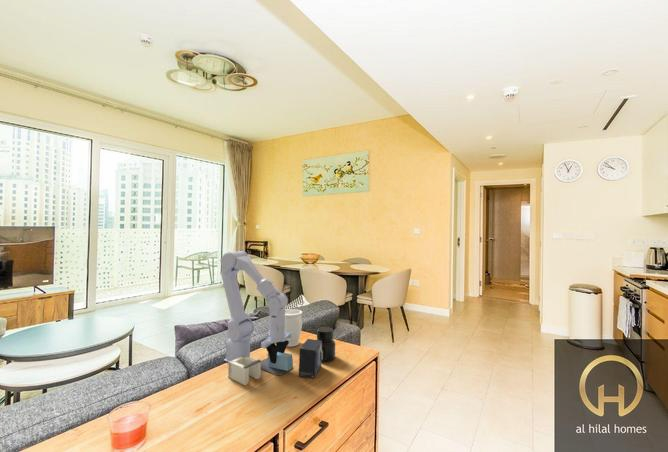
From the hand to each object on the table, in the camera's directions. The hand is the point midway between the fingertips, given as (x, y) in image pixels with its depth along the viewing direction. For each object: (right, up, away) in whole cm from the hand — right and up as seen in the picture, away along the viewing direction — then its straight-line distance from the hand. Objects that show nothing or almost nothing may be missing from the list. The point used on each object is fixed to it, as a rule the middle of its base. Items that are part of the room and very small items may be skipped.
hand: (276, 361), depth 122 cm
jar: (+2, -3, +25) cm, 26 cm away
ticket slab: (+2, -2, -1) cm, 3 cm away
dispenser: (-10, -3, -8) cm, 13 cm away
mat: (-2, -3, +1) cm, 4 cm away
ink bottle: (+18, -3, +11) cm, 21 cm away
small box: (+13, -3, -2) cm, 14 cm away
